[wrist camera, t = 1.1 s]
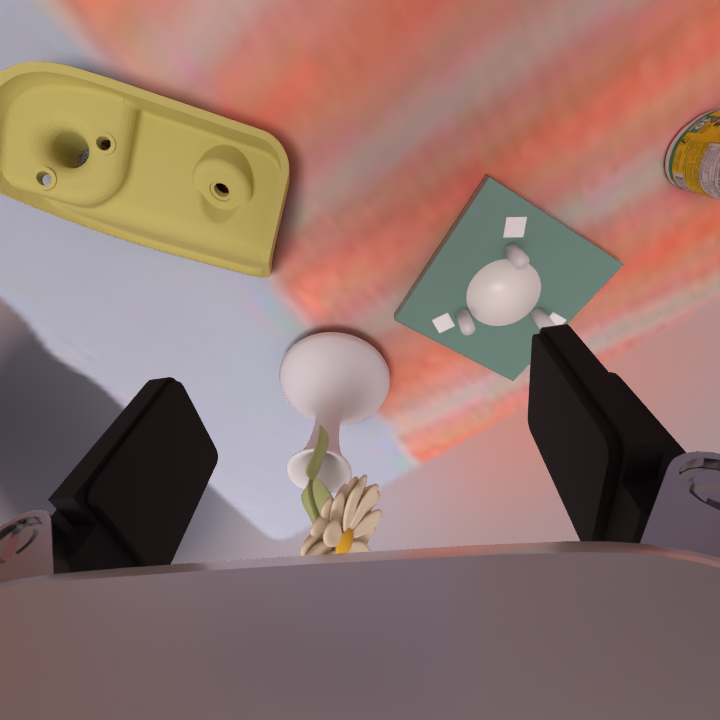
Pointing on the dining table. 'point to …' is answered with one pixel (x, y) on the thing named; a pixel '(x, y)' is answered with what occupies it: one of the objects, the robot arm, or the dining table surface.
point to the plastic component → (141, 166)
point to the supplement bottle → (697, 156)
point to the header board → (503, 280)
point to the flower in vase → (334, 435)
